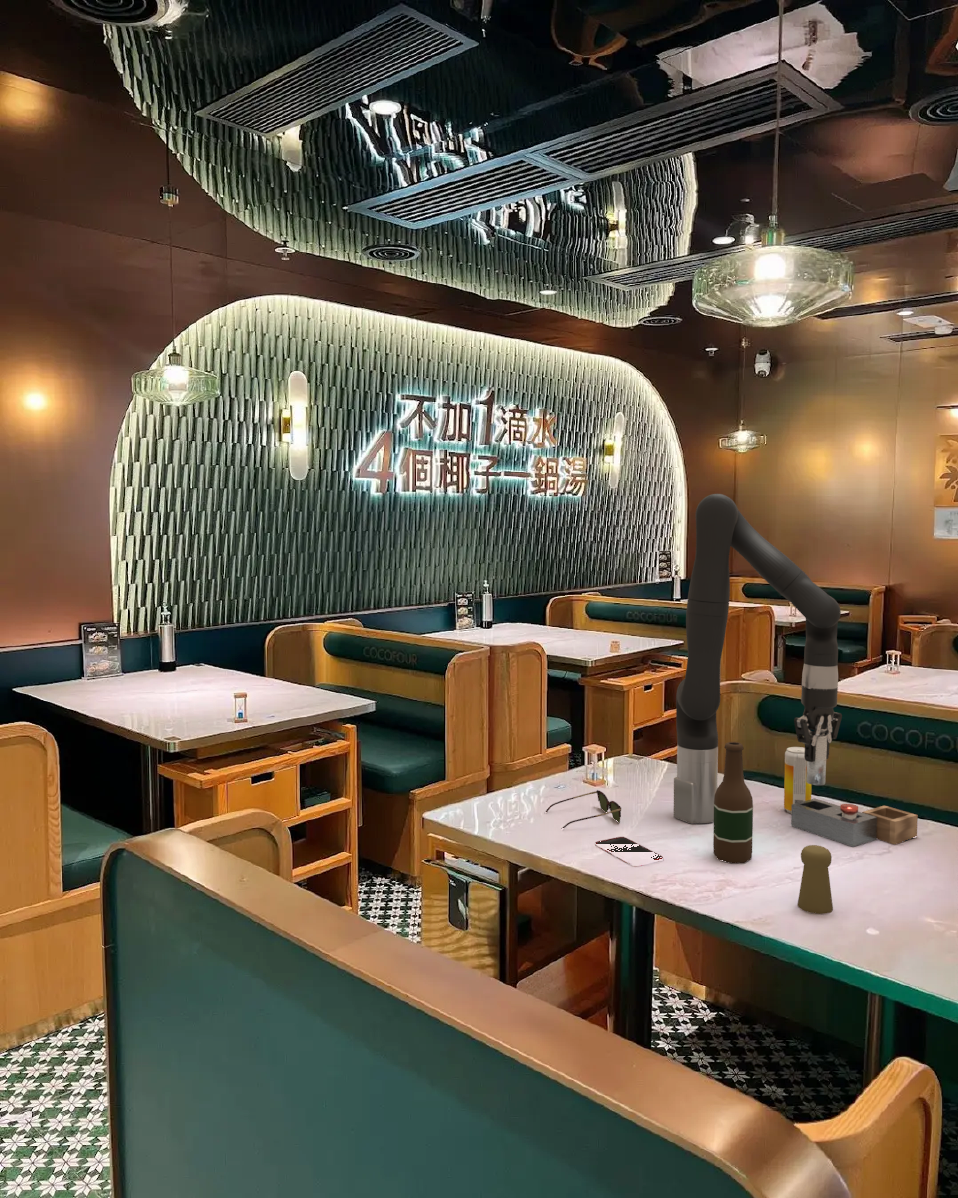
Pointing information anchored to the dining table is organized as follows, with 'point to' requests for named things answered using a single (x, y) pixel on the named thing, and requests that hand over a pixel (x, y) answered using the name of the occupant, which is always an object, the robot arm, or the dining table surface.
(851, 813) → the copper-capped cylinder
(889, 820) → the wooden hollow square frame
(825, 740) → the gray round-topped cylinder
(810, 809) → the socket block
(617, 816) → the sunglasses
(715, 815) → the beer bottle
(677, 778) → the robot arm
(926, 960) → the dining table surface
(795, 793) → the beer can
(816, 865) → the olive knobbed peg
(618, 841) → the cell phone
